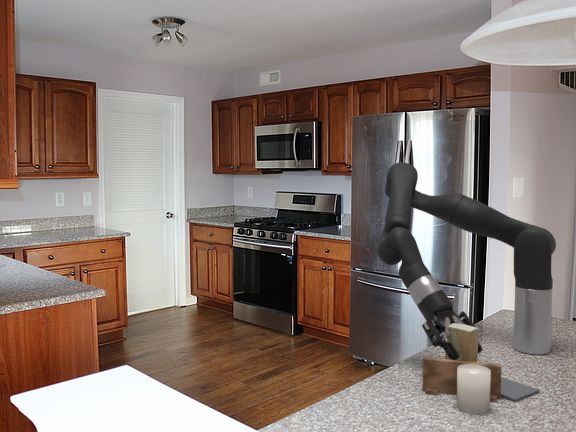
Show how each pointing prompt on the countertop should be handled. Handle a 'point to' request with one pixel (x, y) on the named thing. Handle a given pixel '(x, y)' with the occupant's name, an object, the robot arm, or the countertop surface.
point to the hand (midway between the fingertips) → (468, 355)
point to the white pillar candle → (473, 389)
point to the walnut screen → (455, 376)
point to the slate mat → (516, 390)
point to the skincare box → (464, 341)
